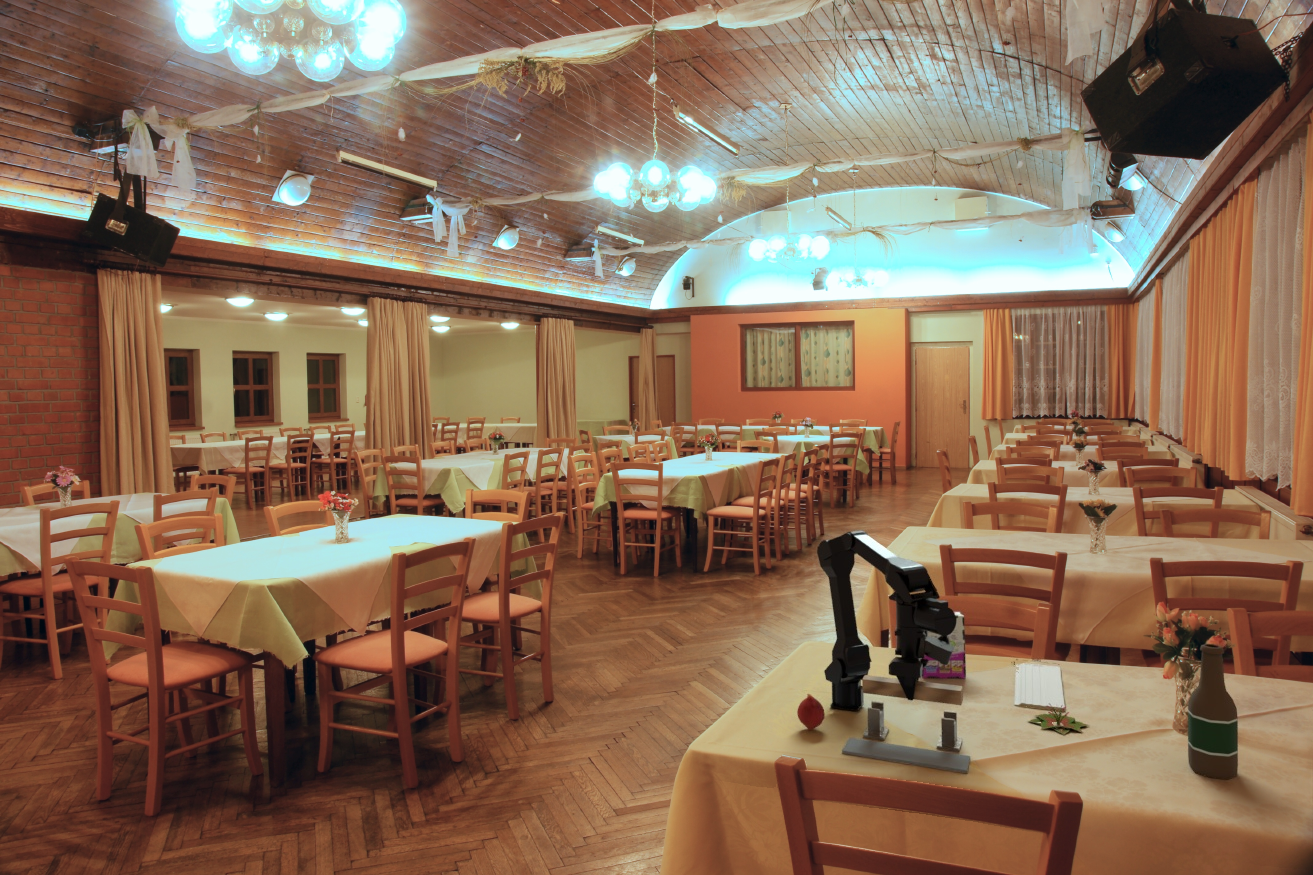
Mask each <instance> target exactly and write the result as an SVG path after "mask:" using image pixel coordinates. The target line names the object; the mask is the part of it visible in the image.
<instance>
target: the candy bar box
mask: <svg viewBox="0 0 1313 875" xmlns="http://www.w3.org/2000/svg"><path fill="white" fill-rule="evenodd" d="M953 612H954V613H955V616H956V618H957V622H956V627H955V629H954V631H953V632H952V633H951V634H950V635H948V636H949V639H950V644H953V646H954V650H953V652H952V655H951V657H950V660H949V663H948V665H944V664H941V663H940V662H939V661H937V660H934V659H932V658H930V657H928V656H926V655H925V659H927V660H929V661H928V663H927V665H926V666H925V667H924V668H923V670H924V672H923V674H922V675H921V678H922V679H966V678H967V666H966V665H967V664H966V663H967V662H966V660H967V659H966V635H965V634H966V632H965V630H966V629H965V615H964V614H962V612H961V611H953ZM928 636H931V637H934V636H935V637H936V638H938V637H939V636H940V635H938V634H935V633H932V632H929V631H928ZM922 659H924V658H922Z"/></svg>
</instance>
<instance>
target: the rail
mask: <svg viewBox="0 0 1313 875" xmlns="http://www.w3.org/2000/svg"><path fill="white" fill-rule="evenodd" d="M861 682H862V683H861V686H862V688H863V694H868V695H875V696H882V697H884V696H885V697H892V698H900V699H906V700H908V699H907V697H906V695H905V693H904V691H903V689H902V686H901V684H900V682H899V680H898V679H897V677H896V678H894V677H885V676H877V675H869V674H868V675H865V676H864V677H863V679H862V680H861ZM963 689H964V688H963V686H962V685H956V684H948V683H946V684H945V683H939V682H938V683H937V682H928V681H923V680H919V681H916V687H915V693H914V699H913V701H914V700H915V701H924V702H931V703H938V704H946V705H947V704H948V705H955V706H963V701H964V700H963V699H964V695H963V693H964V691H963Z"/></svg>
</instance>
